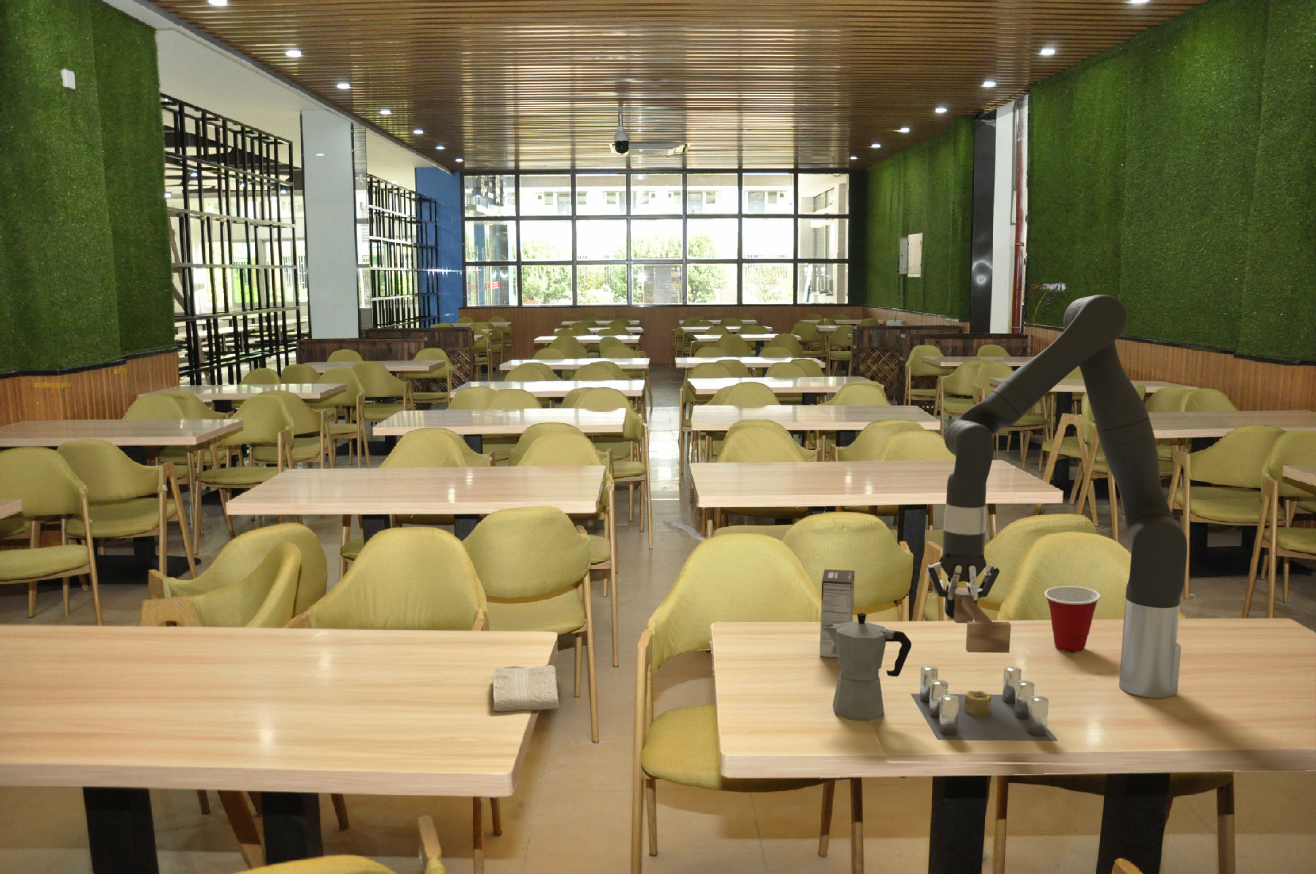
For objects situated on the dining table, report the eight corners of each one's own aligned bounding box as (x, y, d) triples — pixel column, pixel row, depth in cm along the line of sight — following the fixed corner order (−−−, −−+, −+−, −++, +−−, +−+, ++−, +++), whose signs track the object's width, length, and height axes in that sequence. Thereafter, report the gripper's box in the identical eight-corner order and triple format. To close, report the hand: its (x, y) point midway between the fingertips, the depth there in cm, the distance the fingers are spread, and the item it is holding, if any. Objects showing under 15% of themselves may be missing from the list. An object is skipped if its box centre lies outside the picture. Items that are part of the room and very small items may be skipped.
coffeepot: (814, 714, 191) (817, 615, 189) (829, 695, 200) (832, 601, 197) (902, 729, 185) (906, 627, 182) (913, 710, 193) (917, 612, 191)
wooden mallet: (974, 613, 207) (975, 588, 206) (1009, 652, 186) (1010, 624, 185) (937, 613, 207) (938, 587, 206) (968, 652, 186) (969, 624, 185)
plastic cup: (1030, 642, 230) (1033, 587, 229) (1072, 637, 234) (1076, 583, 232) (1063, 659, 220) (1067, 601, 218) (1107, 654, 223) (1111, 597, 222)
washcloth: (555, 675, 210) (555, 660, 209) (561, 712, 192) (561, 695, 192) (492, 678, 208) (492, 663, 208) (493, 716, 190) (492, 699, 190)
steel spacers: (1016, 697, 199) (1018, 666, 198) (1049, 736, 182) (1051, 702, 181) (917, 696, 199) (919, 665, 198) (941, 735, 182) (943, 701, 181)
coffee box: (821, 642, 229) (823, 568, 227) (852, 644, 228) (855, 570, 225) (818, 656, 220) (821, 579, 218) (851, 659, 219) (853, 582, 217)
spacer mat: (1019, 696, 200) (1019, 694, 200) (1058, 742, 180) (1058, 740, 180) (910, 695, 200) (910, 693, 200) (937, 741, 180) (937, 739, 180)
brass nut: (987, 707, 194) (987, 690, 194) (993, 716, 190) (994, 699, 190) (961, 706, 194) (962, 690, 194) (967, 715, 190) (968, 699, 190)
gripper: (996, 523, 205) (991, 612, 208) (922, 523, 205) (918, 611, 208) (1008, 533, 198) (1003, 624, 200) (931, 532, 198) (927, 623, 200)
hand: (960, 617), depth 204 cm, fingers closed on wooden mallet, 3 cm apart
